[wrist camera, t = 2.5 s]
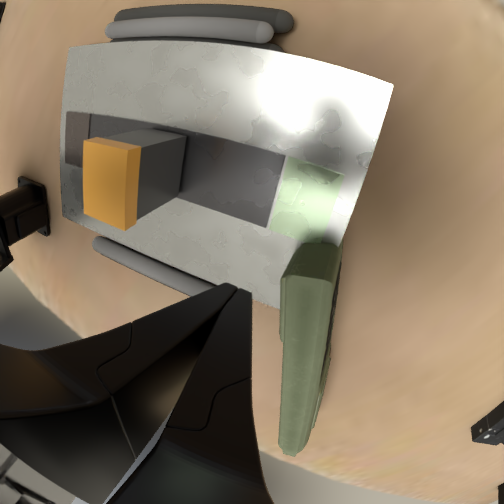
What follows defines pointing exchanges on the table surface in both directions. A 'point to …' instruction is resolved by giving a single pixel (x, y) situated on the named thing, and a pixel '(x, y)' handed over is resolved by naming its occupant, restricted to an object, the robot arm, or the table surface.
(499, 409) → the disk drive
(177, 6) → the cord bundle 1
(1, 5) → the electronic device
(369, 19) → the table surface
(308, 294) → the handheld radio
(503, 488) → the ink cartridge
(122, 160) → the lever
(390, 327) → the table surface
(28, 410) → the robot arm
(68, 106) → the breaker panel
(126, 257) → the grey rounded rod
